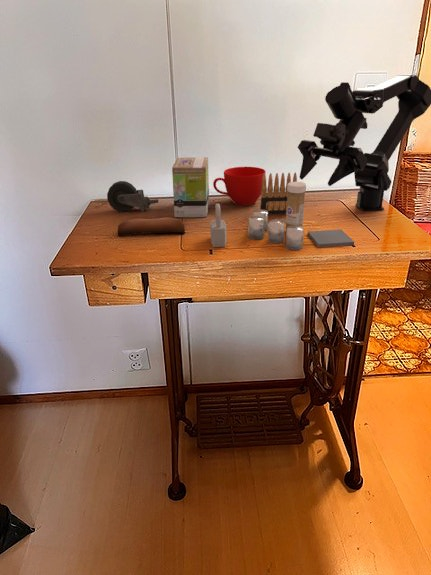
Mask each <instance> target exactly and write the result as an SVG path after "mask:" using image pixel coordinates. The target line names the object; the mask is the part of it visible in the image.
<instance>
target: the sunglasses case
mask: <svg viewBox="0 0 431 575" xmlns="http://www.w3.org/2000/svg"><path fill="white" fill-rule="evenodd" d="M185 230H186V229H185V224H184V222H183V221H182V220H180V219H178V218H173V217H161V218H155V217H154V218H153V217H152V218H149V219H148V218H133V219H129V220H125V221H122V222H120V223H119V224H118V226H117V236H118V237H120V236H130V235H139V234H156V233H157V234H159V233H162V234H165V233H166V234H167V233H168V234H170V233H183V234H186V232H185Z"/></svg>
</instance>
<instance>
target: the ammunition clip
mask: <svg viewBox="0 0 431 575" xmlns="http://www.w3.org/2000/svg"><path fill="white" fill-rule="evenodd" d="M267 182H268V183H267ZM285 182H286V183H285ZM290 182H298V176H297V172H294V173H293V176H292V177H291V173H290V172H288V173H287V176H286V179H285V174H284V172H282V173H281V177H280V179H279V174H278V172H276V173H275V176H274V182H273V174H272V173H271V172H270V173H269V176H268V180H267V175H265V173H264V174H263V178H262V187H261V196H260V206H259V207H260V208H259V210H266V211H268V216H271V215H286V212H287V198H288V191H287V185H288V183H290ZM273 183H274V185H273ZM279 183H280V184H279Z"/></svg>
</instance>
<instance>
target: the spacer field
mask: <svg viewBox="0 0 431 575" xmlns="http://www.w3.org/2000/svg"><path fill="white" fill-rule="evenodd" d="M247 226H248V229H247V230H248V236H247V237H248V239H250V240H254V241H255V240H258V241H259V240H262V239H264V237H265V233H266V232H268V235H267V236H268V239H267V240H268V241H267V242H269V243H270V244H274V245H275V244H283V243H284V242H285V249H287V250H289V251H301V250H302V249H303V243H304V229H305V227H304V226H299V225H291V226H288V227H287V234H285V231H286V220H284V219H281V218H273V219H269V215H268V211H266V210H260V209H255V210H253V211H252V215H251V216H249V217H248V225H247ZM285 235H286V237H285ZM285 238H286V239H285ZM285 240H286V241H285Z"/></svg>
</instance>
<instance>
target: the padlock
mask: <svg viewBox="0 0 431 575" xmlns="http://www.w3.org/2000/svg"><path fill="white" fill-rule="evenodd" d="M214 209H215V212H214V213H215V219H212V220H211V221H210V224H209V225H210V226H209V227H210V228H209V229H210V231H209V233H210V243H211V245H212V247H213V248H226V244H227V223H226V221H225V220H224V218H221V216H222V215H221V214H222V213H221V204H220V203H219V202H218V203H215V208H214Z"/></svg>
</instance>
